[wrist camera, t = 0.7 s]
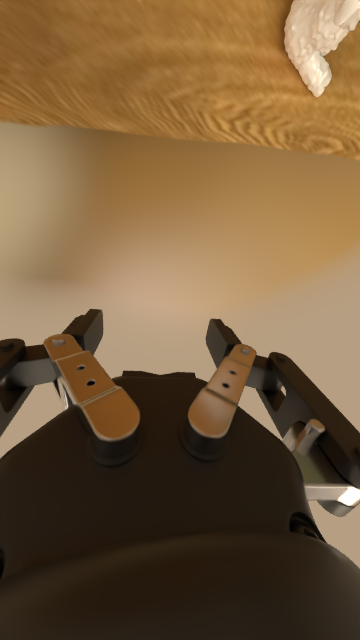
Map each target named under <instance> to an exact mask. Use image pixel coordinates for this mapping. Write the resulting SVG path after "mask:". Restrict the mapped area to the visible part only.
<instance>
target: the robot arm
mask: <svg viewBox="0 0 360 640" xmlns="http://www.w3.org/2000/svg"><path fill="white" fill-rule="evenodd" d="M102 336H103V313H102V310H98V309H90V310H89V311H88V312H87V313H86V314H85V315H80V316H79V317H76V318H75V319H74V320H73V321H72V323H70V325H69V326H68V327H67V328H66V329H65V330H64V331H63V332H62V334H57V335H53V336H50V337H48V338H47V339H45V341H44V344H42V345H35V346H27V347H26V346H25V342H24V341H23V340H21V339H15V338H14V339H5V340H1V341H0V437H1V435H2V434H3V432H4V431H5V429H6V428H7V426H8V425H9V423H10V422H11V420H12V419H13V417H14V416H15V415H16V413H17V412H18V410H19V409H20V407H21V405H22V404H23V403H24V401H25V400H26V398H27V397H28V395H29V394H30V392H31V391H32V389H33V388H34V386H35V385H38V384H43V383H49V382H52V384H53V387H54V389H55V391H56V394H57V396H58V398H59V400H60V403H61V405H62V408H63V412H62V413H60V414H59V415H57V416H56V417H55V418H53V419H52V420H51V421H49V422H48V423H46V424H45V425H44V426H42V427H41V428H40V429H38V430H37V431H35V432H34V433H32V434H31V435H30V436H28V437H27V438H26V439H24V440H23V441H21V442H20V443H19V444H17V445H16V446H14V447H13V448H12V449H11V450H9V451H8V452H7V453H6V454H5V455H4V456H3V457H2V458H1V459H0V640H360V569H359V568H358V567H357V566H356V565H355V564H354V563H353V562H352V561H351V560H350V559H349V558H348V557H347V556H345V555H344V554H343V553H341V552H340V551H339V550H337V549H336V548H334V547H332V546H331V545H329V544H327V543H326V541H325V540H324V538H323V537H322V535H321V533H320V532H319V530H318V528H317V526H316V524H315V521H314V519H313V516H312V513H311V511H310V507H309V504H308V501H310V500H317V501H318V503H319V504H320V505H321V506H322V507H323V508H324V509H325V510H327V511H328V512H329V513H331V514H333V515H336V516H340V517H342V516H345V515H346V514H347V513H349V512H350V511H351V510H352V509H353V508H355V507H356V506H357V505H358V504H359V503H360V433H359V431H358V430H356V428H355V427H354V426H353V425H352V424H351V423H350V422H349V421H348V420H347V419H346V418H345V417H344V415H343V414H342V413H341V412H340V411H339V410H338V409H337V408H336V407H335V406H334V405H333V404H332V403H331V401H329V399H328V398H327V397H326V396H325V395H324V394H323V393H322V392H321V391H320V390H319V389H318V388H317V386H315V384H314V383H313V382H312V381H311V380H310V379H309V378H308V377H307V376H306V375H305V374H304V373H303V372H302V371H301V369H300V368H299V367H298V366H297V365H296V364H295V363H294V362H293V361H292V360H291V359H290V358H289V357H287V356H286V355H284V354H281V353H277V352H272V353H270V354H269V357H268V358H266V357H262V356H258V355H256V351H255V350H254V349H253V348H252V347H250V346H247V345H244V344H242V343H241V341H240V340H239V339H238V337H236V335H235V334H234V332H233V331H232V329H230V328H229V327H227V326H225V325H224V323H223V322H222V321H221V319H211V320H210V322H209V326H208V330H207V335H206V344H207V347H208V349H209V351H210V354H211V356H212V358H213V361H214V363H215V365H216V367H217V370H216V371H215V373H214V374H213V376H212V378H211V379H210V381H209V382H206V381H204V380H201V379H198V378H196V376H195V373H185V372H176V373H171V374H164V375H157V374H153V373H148V372H143V371H123V374H122V376H120V377H115V378H112V379H111V378H110V377H109V376H108V374H107V373H106V372H105V370H104V369H103V368H102V366H101V365H100V364H99V362H98V361H97V360H96V359H95V357H94V356H93V355H94V353H95V351H96V349H97V347H98V345H99V343H100V341H101V339H102ZM244 386H249V387H252V388H256V390H257V392H258V394H259V396H260V398H261V399H262V402H263V403H264V405H265V407H266V409H267V410H268V413H269V415H270V416H271V418H272V420H273V422H274V424H275V426H276V428H277V429H278V431H279V433H280V435H281V437H282V439H283V440H282V441H281V440H280V439H278V438H277V437H276V436H275V435H274V434H272V433H271V432H270V431H269V430H267V429H266V428H265V427H264V426H263V425H261V424H260V423H259V422H258V421H256V420H255V419H254V418H253V417H251V416H250V415H249V414H247V413H246V412H245V411H244V410H243V409H241V408H240V407H239V406H238V402H239V400H240V397H241V394H242V392H243V389H244ZM282 386H284V387H285V390H286V397H285V395H284V394H283V392H282V391H281V387H282Z"/></svg>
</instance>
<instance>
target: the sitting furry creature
mask: <svg viewBox="0 0 360 640" xmlns="http://www.w3.org/2000/svg"><path fill="white" fill-rule="evenodd" d="M359 20H360V0H294V1H293V3H292V5H291V10H290V13H289V16H288V17H287V19H286V22H285V23H286V26H285V28H284V32H285V39H284V44H285V51H286V52H288V56H289V59H291V62H292V63H293V65H294V66H295V68H296V69H298V71H299V74H300V75H301V77H302V80H303V81H304V84H307V86H308V90H311V92H312V94H313V95H314V96H316V97H319V96H320V95H321V94H322V93H323V91H324V87H326V86H327V85H328V84H329V82H330V80H331V78H332V75H331V71H330V68H329V63H327V62H326V61H325V58H323V57H322V56H326V55H327V54H328V53H329V52H330V51H331V49H332V50H333V51H334V50H336V48H337V47H338V44H339V42H341V41H342V40H343V38H344V37H345V36H346V35H347V34H348V32H349V31H353V30H354V29H355V28H356V25H357V24H358V22H359Z"/></svg>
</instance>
